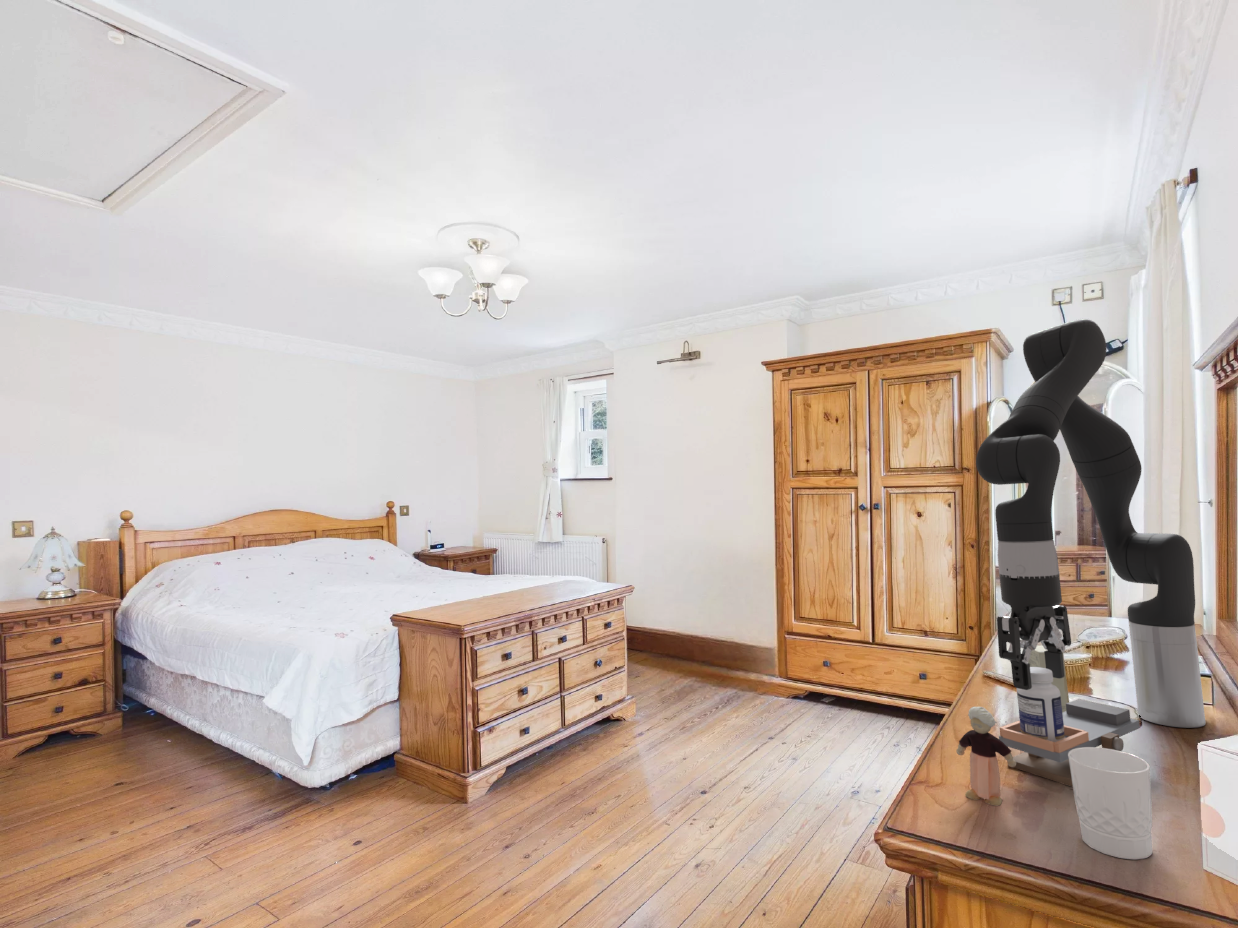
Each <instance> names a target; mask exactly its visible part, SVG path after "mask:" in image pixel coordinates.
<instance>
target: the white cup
mask: <svg viewBox="0 0 1238 928" xmlns="http://www.w3.org/2000/svg"><path fill="white" fill-rule="evenodd" d="M1068 758H1069V765H1070V771H1071V778H1072V785H1073V787H1072V790H1073V798H1074V803H1075V807H1076V815H1077V817H1078V821H1079V825H1080V833H1081V838H1082V839H1081V840H1082V841H1083V842H1084V844H1086V845H1087V846H1089V847H1090V848H1091V849H1093V850H1094V851H1097V852H1099V853H1102V854H1104V855H1107V856H1112V857H1115V858H1119V859H1123V860H1124V859H1126V860H1143V859H1147V858H1149V857H1150V856H1151V855H1152V854H1153V840H1152V828H1153V815H1152V814H1153V808H1152V807H1153V805H1152V804H1153V803H1152V785H1151V784H1152V783H1151V782H1152V781H1151V766H1150V764H1149V762H1147V761H1146V760H1145V759H1143V758H1141V757H1140V756H1137V755H1134V754H1132V753H1129V752H1125V751H1123V750H1122V751H1118V750H1113V749H1107V748H1102V747H1082V748H1076V749H1072V750H1070V751H1069V752H1068Z"/></svg>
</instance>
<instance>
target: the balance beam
mask: <svg viewBox="0 0 1238 928" xmlns="http://www.w3.org/2000/svg"><path fill="white" fill-rule="evenodd" d="M1062 714H1063V723H1064V733H1065V739H1062V740H1060V741H1057V742H1052V741H1049V740H1045V739H1042V738H1038V737H1034V736H1031V735H1027V734H1024V733H1021V729H1020V719H1019V720H1017V721H1014V722H1011V723H1008V724H1005V725H1001V726H1000V727H998V728H999V729H998V730H999V735H998V739H999V740H1001V741H1002V742H1003V743H1004V744H1005V745H1006V746H1007V747H1008V748H1009V749H1010V748H1011V749H1014V750H1017V751H1020V752H1023V753H1024V752H1027V753H1030V754H1033V755H1037V756H1040V757H1043V758H1047V759H1050V760H1053V761H1057V762H1060V763H1061V762H1063V761H1065V760H1068V759H1069V758H1068V752H1069V751H1070V750H1072V749H1076V748H1082V747H1097V748H1099V747H1100V746H1102V743H1101V736H1102V735H1104V734H1107V733H1109V732H1110V733H1114V734H1118V735H1119V738H1121V737H1123V736H1125V735H1128V734H1130V733H1132V732H1135V731H1137V730H1139V729H1141V726H1140V725H1141V724H1140V720H1139V719H1136V718H1131V712H1130V709H1128V708H1122V707H1119V706H1115V705H1114V706H1113V705H1110V704H1104V703H1100V702H1095V701H1092V700H1085V699H1081V698H1078V699H1074V700H1072V701H1069V703H1066V711H1065V712H1063V713H1062Z"/></svg>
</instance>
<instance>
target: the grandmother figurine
mask: <svg viewBox="0 0 1238 928" xmlns="http://www.w3.org/2000/svg"><path fill="white" fill-rule="evenodd" d="M967 716H968V718H969V720H970V726H971V728H972V729H971V730H968V731H967V732H966V733H964V735H963V736H962V737H961V738H960V739H959V740H958V744H957V748H956V753H957V755H958V756H964V755H965V751H966V750H967V748H968V747H971V751H970V754H969V772H970V773H969V774H970V775H969V777H970V778H969V781H970V783H969V784H970V789H968V790H966V792H965V797H966V798H968V799H970V800H980V799H983V800H984V802H985V803H986V804H987V805H991V806H994V807H995V806H996V807H997V806H1001V805H1002V802H1003V799H1002V797H1001V773H1000V766H999V760H998V756H997V754H999V755H1000V756H1001V757H1003V758H1004V760H1005V761H1007V762H1006V763H1007V766H1008V765H1009V766H1008V767H1011V768H1013V767H1015V766H1016V762H1015V761H1014V759H1013V757H1014V756H1013V754H1012V753H1011V752H1012V750H1011V749H1010V747H1007V746H1006V745H1005V744H1004V743H1003V742H1002V741H1001V740H999V737H996V736H995V735H994V734H991V732H990V731H991V730H992V728H993V727H994V726H995V725H996V724H997V721H996V720H995V717H994V716H993V714H992V713H991V712H990V711H989V710H987V709H986V708H985V707H983V706H972V707H970V708H969V710H968V715H967Z"/></svg>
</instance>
